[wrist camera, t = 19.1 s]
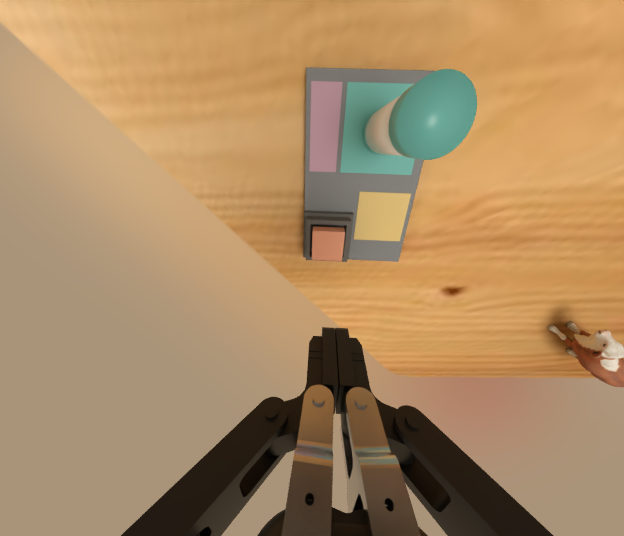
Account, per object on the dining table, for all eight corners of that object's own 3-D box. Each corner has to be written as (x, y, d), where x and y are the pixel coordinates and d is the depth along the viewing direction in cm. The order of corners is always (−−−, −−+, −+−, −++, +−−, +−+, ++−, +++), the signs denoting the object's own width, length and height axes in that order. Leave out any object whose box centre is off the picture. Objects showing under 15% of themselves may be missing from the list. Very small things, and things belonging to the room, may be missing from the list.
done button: (313, 226, 26) (312, 230, 24) (343, 227, 26) (345, 232, 24) (312, 254, 27) (311, 259, 26) (340, 255, 27) (342, 261, 26)
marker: (365, 106, 22) (408, 66, 11) (407, 108, 22) (490, 71, 11) (359, 153, 24) (390, 157, 13) (398, 155, 24) (460, 161, 13)
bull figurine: (569, 299, 33) (637, 341, 26) (592, 347, 38) (655, 394, 30) (537, 314, 35) (593, 357, 28) (563, 358, 39) (617, 405, 32)
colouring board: (307, 70, 22) (304, 58, 19) (440, 74, 21) (460, 61, 18) (304, 254, 31) (302, 265, 28) (396, 258, 31) (404, 270, 28)
